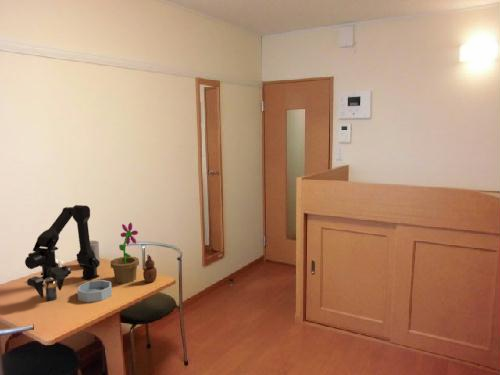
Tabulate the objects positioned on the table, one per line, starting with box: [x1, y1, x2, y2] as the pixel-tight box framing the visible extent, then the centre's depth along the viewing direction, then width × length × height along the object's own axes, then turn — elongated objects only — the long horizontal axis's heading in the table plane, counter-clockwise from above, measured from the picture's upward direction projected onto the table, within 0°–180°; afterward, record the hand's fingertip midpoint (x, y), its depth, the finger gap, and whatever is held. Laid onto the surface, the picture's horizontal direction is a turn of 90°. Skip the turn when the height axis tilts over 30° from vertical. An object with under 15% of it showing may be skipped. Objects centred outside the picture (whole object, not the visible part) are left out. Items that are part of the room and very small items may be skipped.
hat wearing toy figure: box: [50, 255, 64, 279], centre depth 208 cm, size 9×4×12 cm, turn 118°
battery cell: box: [44, 278, 58, 302], centre depth 183 cm, size 4×4×10 cm
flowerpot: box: [110, 222, 140, 284], centre depth 204 cm, size 14×14×30 cm
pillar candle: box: [81, 240, 100, 269], centre depth 226 cm, size 10×10×15 cm
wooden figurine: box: [142, 254, 158, 284], centre depth 203 cm, size 7×6×15 cm
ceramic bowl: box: [77, 279, 113, 303], centre depth 187 cm, size 15×15×4 cm
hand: (51, 293), depth 183 cm, fingers open, 9 cm apart
